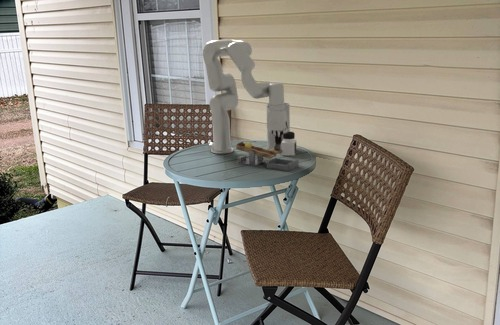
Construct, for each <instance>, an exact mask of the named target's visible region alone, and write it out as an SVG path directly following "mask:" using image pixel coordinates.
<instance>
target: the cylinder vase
mask: <svg viewBox="0 0 500 325" xmlns="http://www.w3.org/2000/svg"><path fill="white" fill-rule="evenodd" d="M268 105H269V102H268V103H266V115H267V114H268V111H269V108H268V107H267V106H268ZM284 109H285V110H286V114H287V120H288V129H287V130H288V131H291V129H290V128H291V126H290V122H291V121H290V120H291V117H290V116H291V115H290V103H288V102H284ZM266 136H267V137H266V142H267V148H266V149H267V150H270V149H272V148H274V145H275V136H274V135H273V133H271V132H269V131H268V129H267V128H266ZM281 137H282V141H283V135H282V136H281ZM281 143H282V142H281ZM280 149H281V144H280Z"/></svg>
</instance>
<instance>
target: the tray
mask: <svg viewBox="0 0 500 325" xmlns="http://www.w3.org/2000/svg"><path fill="white" fill-rule="evenodd" d="M299 161H300V160H299V159H295V160H292V159H291V160H290V159H285V158H283V159H282V158H277V157H275V158H272V159H269V160H268V161H267V162H266V169H270V170H271V169H272V170H278V171H284V172H291V171H293V170H294V169H296V168H299V166H300V165H299V164H300V162H299Z"/></svg>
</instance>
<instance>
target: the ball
mask: <svg viewBox="0 0 500 325" xmlns="http://www.w3.org/2000/svg"><path fill="white" fill-rule="evenodd" d="M244 143H245V148H249V149H250V148H251V147H252V146H253V144H252V142H249V141H247V142H244Z"/></svg>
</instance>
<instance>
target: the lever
mask: <svg viewBox="0 0 500 325" xmlns="http://www.w3.org/2000/svg"><path fill="white" fill-rule="evenodd" d="M245 143H246V142H244V141H240V142H238V143H237V144H236V146H235V150H238V151H241V152H245V153H247V154H249V151H255V156H257V155H258V156H262V157H263V158H265V159H269V160H272V159H274V157H275V158H276V157H277V155H278V154H279V153H282V151H283V149H280V144H276V143H275V145H274V148H272V149H270V150H269V149H268V148H263V147H258V146H255V145H252V147H251V148H250V149H249V148H245Z"/></svg>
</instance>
